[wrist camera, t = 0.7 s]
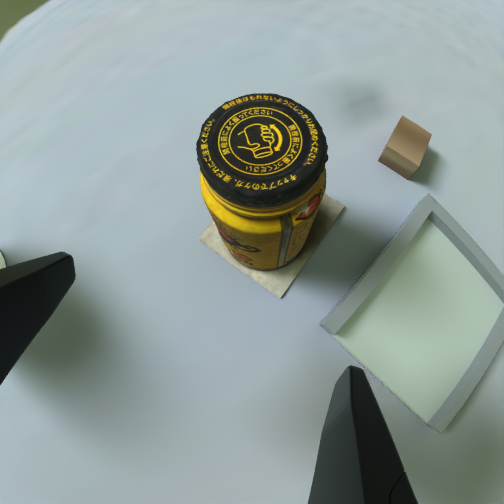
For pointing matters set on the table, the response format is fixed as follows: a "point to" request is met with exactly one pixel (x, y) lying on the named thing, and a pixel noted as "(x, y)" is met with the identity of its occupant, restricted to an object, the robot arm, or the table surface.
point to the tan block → (405, 148)
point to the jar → (2, 261)
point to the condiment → (265, 186)
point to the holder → (425, 315)
